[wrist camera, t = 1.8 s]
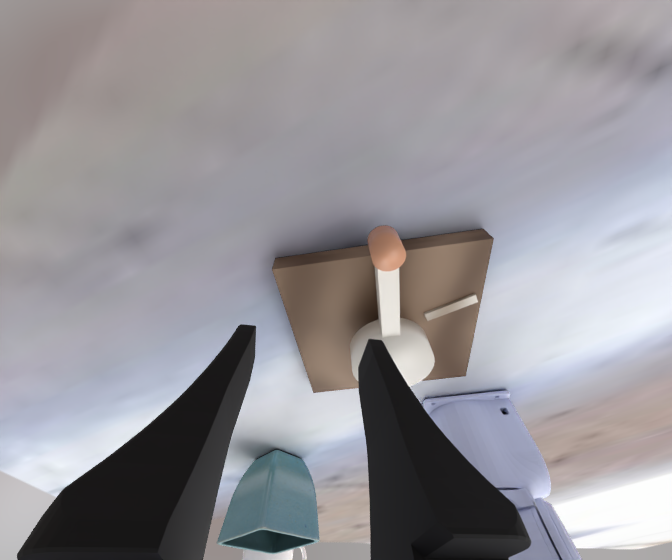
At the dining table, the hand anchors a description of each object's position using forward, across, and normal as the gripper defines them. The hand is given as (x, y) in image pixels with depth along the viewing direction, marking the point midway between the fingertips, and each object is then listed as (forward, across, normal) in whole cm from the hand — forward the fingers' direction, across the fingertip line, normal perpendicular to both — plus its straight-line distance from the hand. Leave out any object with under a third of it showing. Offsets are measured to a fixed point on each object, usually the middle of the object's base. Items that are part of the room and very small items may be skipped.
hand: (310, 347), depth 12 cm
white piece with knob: (+6, -5, +3) cm, 9 cm away
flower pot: (+10, 0, +35) cm, 36 cm away
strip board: (+9, -7, +6) cm, 13 cm away
